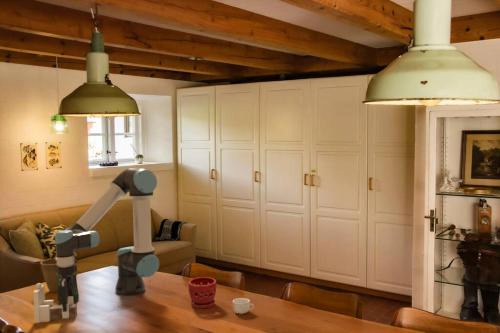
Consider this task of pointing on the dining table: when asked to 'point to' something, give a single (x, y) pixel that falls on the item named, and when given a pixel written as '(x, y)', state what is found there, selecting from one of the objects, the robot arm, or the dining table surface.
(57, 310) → the rail
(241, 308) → the teacup
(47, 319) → the cream u-shaped bracket
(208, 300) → the plant pot
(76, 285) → the coffee jar
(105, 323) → the dining table surface
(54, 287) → the plant pot
